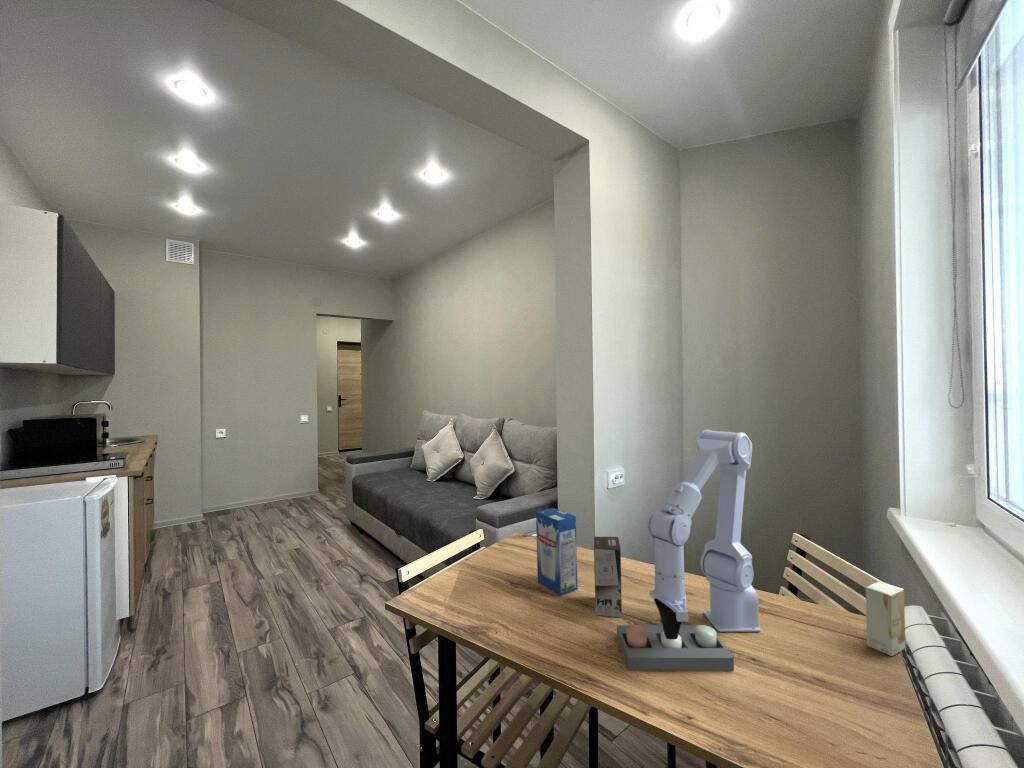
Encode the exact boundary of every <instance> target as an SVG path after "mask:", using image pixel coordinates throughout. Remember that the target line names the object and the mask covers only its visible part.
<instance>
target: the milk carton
mask: <svg viewBox="0 0 1024 768" xmlns="http://www.w3.org/2000/svg"><path fill="white" fill-rule="evenodd" d="M535 519H536V520H535V523H536V528H535V529H536V531H535V532H536V563H537V569H536V570H537V571H536V572H537V584H539V583H540V585H541V586H543V587H544V588H546V589H547V590H549V591H551V592H552V593H554V594H555V595H557V596H558V597H562V596H563V597H564V596H566V595H567V594H571V593H573V592H575V590H576V591H578V555H577V554H578V553H577V552H578V551H577V550H578V549H577V548H578V547H577V546H578V545H577V516H576V515H574V514H571V513H568V512H566V511H563V510H560V509H558V508H554V507H551V508H547V509H543V510H538V511H535ZM570 592H571V593H570Z"/></svg>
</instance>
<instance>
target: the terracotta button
mask: <svg viewBox="0 0 1024 768" xmlns="http://www.w3.org/2000/svg"><path fill="white" fill-rule="evenodd" d="M630 625H631V624H630ZM637 625H638V624H637ZM637 625H636V624H632V625H631V626H629V627H627V648H647V631H646V629H645V628H643V627H641V626H637Z"/></svg>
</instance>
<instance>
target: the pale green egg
mask: <svg viewBox="0 0 1024 768" xmlns="http://www.w3.org/2000/svg"><path fill="white" fill-rule="evenodd" d="M697 625H698V626H696V627H695V644H696V645H697V647H698V648H717V641H716V635H717V630H716V629H714V628H713V627H711V626H710V625H709V626H710V627H709V626H705V625H706V624H703V625H702V624H697Z"/></svg>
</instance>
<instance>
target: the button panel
mask: <svg viewBox="0 0 1024 768" xmlns="http://www.w3.org/2000/svg"><path fill="white" fill-rule="evenodd" d="M698 625H699V624H692V625H691V624H681V625H680V629H679V634H678V635H680V636H681V638H682V648H663V647H662V645H661V633H663V632H664V630H663V626H662V624H661V625H660V624H654V625H653V624H650V625H649V624H640V625H638V624H637V626H641V627H643V628H645V629H646V631H647V648H629V647H628V646H627V627H629V626H631V624H629V625H628V624H624V625H623V624H620V625H619V624H618V625H617V624H616V637H617V641H618V643H619V646H620V649H621V650H620V651H621V653H622V655H623V658H624V660H625V663H626V666H627V670H628V671H639V672H641V671H642V672H643V671H645V672H646V671H647V672H648V671H651V672H652V671H655V672H656V671H659V672H661V671H664V672H665V671H673V672H674V671H675V672H677V671H679V672H680V671H681V672H683V671H685V672H686V671H687V672H690V671H691V672H701V671H703V672H725V671H726V672H730V671H731V672H734V671H735V658H734V656H733V655H732V654H731V652H730V650H729V649H727V647H726V646H725V645H724V642H722V640H721V639H720V638H719V636H718V635H717V634H716V641H717V648H698V647H697V645H696V644H695V627H696V626H698ZM704 625H705V626H709V627H711V626H710V624H704Z"/></svg>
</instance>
